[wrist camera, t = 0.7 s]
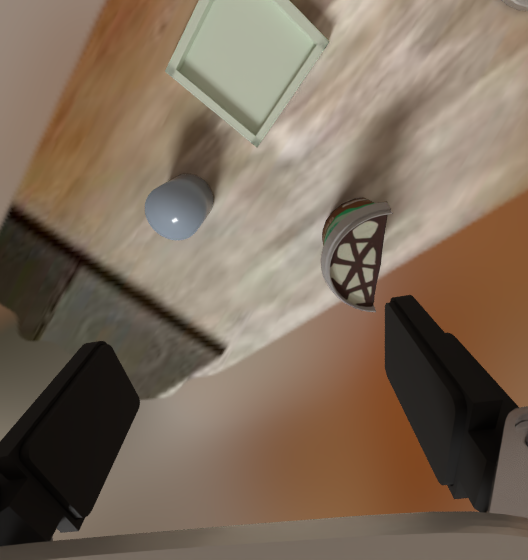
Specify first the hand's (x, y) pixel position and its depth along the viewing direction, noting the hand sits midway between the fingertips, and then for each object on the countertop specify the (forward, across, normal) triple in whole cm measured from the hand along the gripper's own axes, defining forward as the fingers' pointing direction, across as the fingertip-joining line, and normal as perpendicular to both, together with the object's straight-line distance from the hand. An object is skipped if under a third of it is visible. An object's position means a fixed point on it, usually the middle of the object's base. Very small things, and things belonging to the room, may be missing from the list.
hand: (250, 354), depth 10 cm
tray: (+30, -1, -13) cm, 32 cm away
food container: (+30, -9, +7) cm, 32 cm away
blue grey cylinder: (+30, +9, -1) cm, 32 cm away
